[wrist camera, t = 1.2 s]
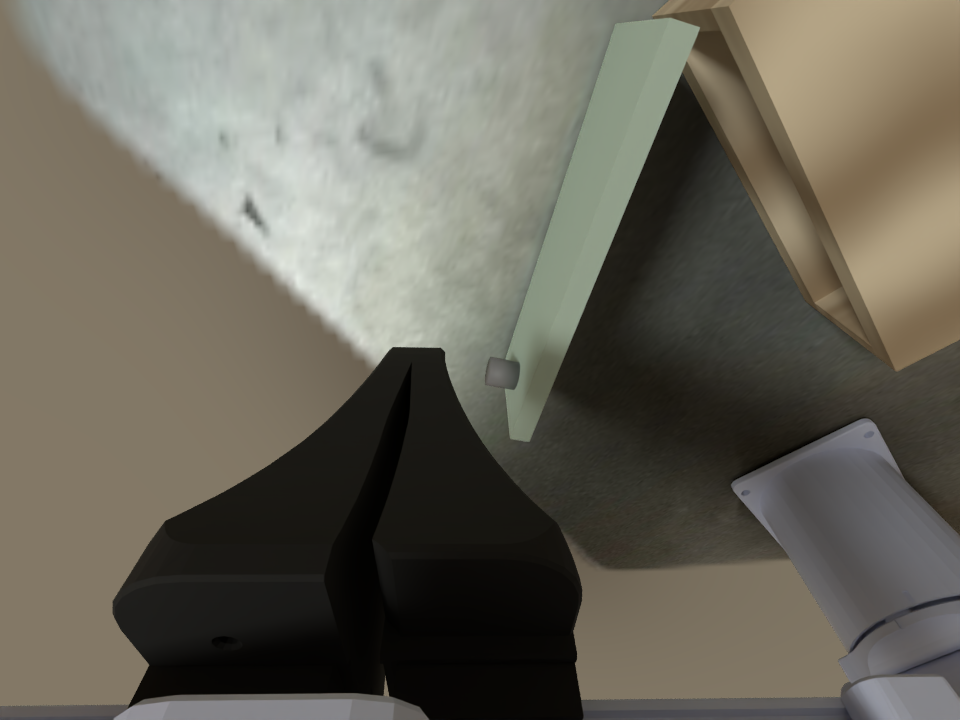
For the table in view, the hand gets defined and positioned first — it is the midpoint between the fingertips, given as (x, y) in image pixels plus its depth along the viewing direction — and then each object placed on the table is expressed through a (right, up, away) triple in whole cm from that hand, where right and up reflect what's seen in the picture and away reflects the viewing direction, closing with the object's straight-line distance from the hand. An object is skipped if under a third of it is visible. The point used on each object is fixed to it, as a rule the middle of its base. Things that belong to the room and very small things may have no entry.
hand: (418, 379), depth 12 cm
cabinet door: (+4, +6, +7) cm, 10 cm away
